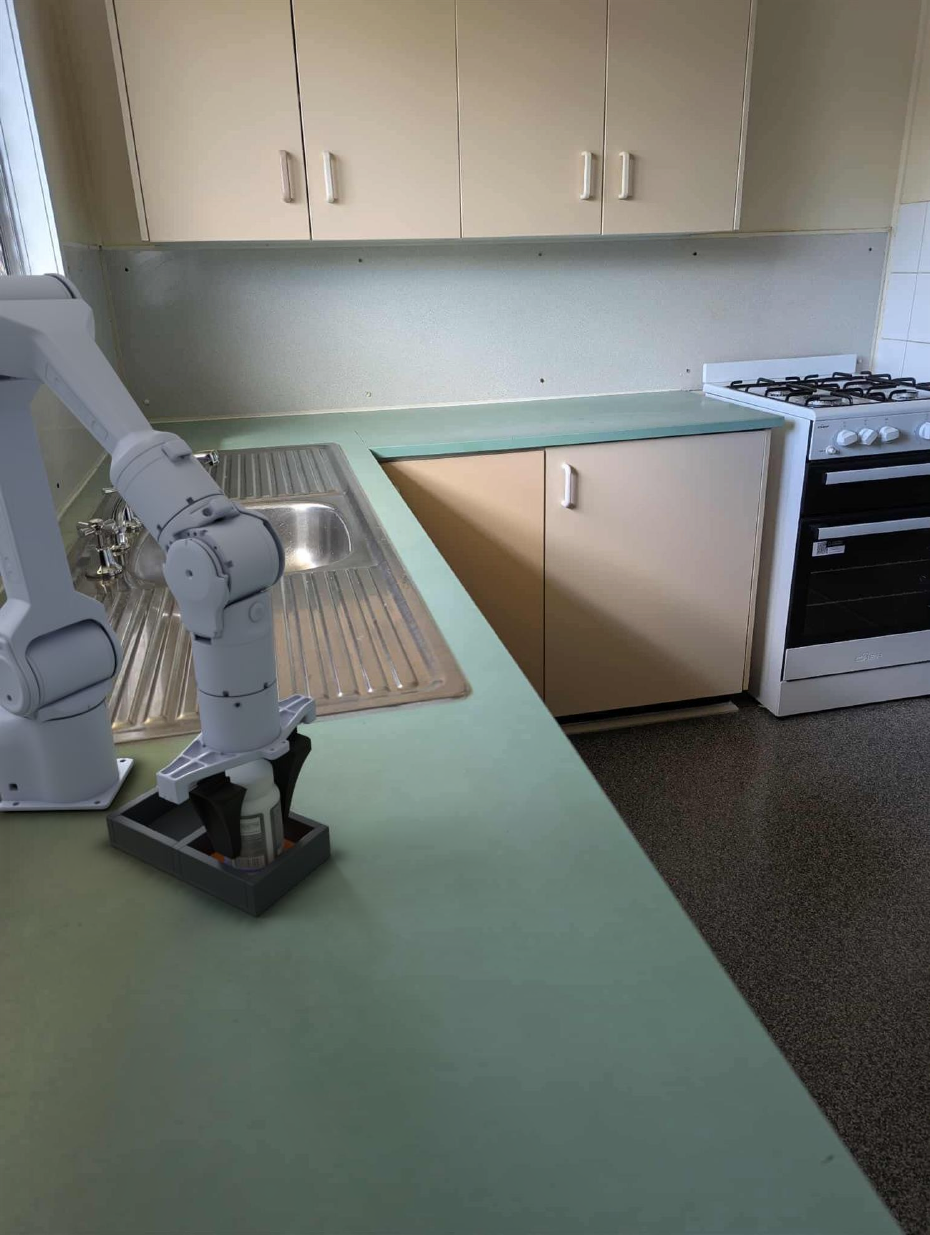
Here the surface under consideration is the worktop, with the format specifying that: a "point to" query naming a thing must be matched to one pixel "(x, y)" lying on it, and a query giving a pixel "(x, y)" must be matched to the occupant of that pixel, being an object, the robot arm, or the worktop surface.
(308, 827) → the tray
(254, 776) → the pill bottle
